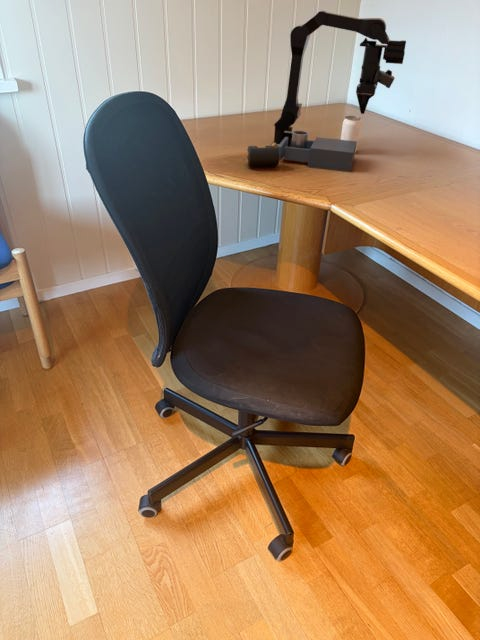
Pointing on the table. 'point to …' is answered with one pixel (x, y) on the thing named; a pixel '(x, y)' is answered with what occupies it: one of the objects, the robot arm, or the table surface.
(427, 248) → the table surface
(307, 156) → the drawer
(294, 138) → the measuring cup
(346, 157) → the cabinet
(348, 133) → the can
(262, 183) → the table surface
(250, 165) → the end cap
